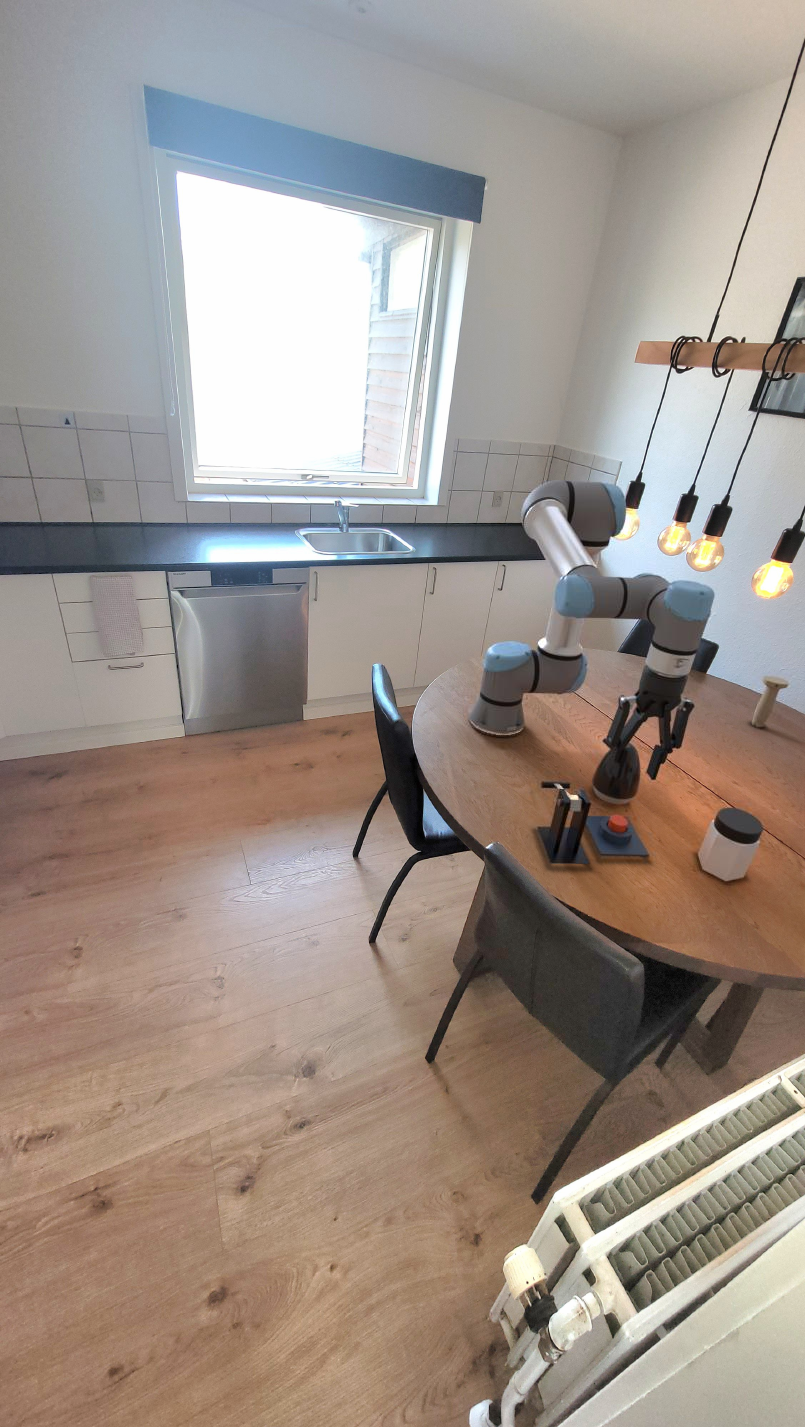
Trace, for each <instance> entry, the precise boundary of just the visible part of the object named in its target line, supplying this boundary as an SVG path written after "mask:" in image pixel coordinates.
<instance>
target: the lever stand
mask: <svg viewBox="0 0 805 1427" xmlns="http://www.w3.org/2000/svg"><path fill="white" fill-rule="evenodd" d="M565 790H566V789H560V790H559V793H558V794H557V798H556V802H555V806H554V811H553V814H552V818H551V823H550V826H538V825H537V826H536V829H537V832H538V834H539V836H540V839H541V842H542V844H543V848H544V850H545V853H546V855H547V858H548V860H549V863H550V864H563V865H565V864H566V865H567V864H568V865H569V864H570V865H575V864H576V865H590V864H591V863H590V860H589V858H588V856H587V854H586V852H585V850H584V848H583V847H584V846H583V845H582V843H581V842H582V837H583V834H584V830H585V827H586V820H587V817H588V816H589V813H590V810H591V806H592V801H591V800H590V798H589V796H588V794H587V792H586V790H585V789H583V788H580V789H579V790H578V793H577V796H578V797H579V798H580V799H581V800H582V804H581V811H572V816H571V820H570V822H569V823H570V825H569V826H566V823H567V820H568V816H569V812H570V811H569V808H570V804H571V802H570V799H569V797H568V795H567V793H566V791H567V790H566V791H565Z"/></svg>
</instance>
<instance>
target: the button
mask: <svg viewBox="0 0 805 1427" xmlns="http://www.w3.org/2000/svg"><path fill="white" fill-rule="evenodd" d="M610 816H611V817H610V820H609V823H608V828H609V829H611V830H612V831H614V832H617V833H624V832H625V831H626V828H627V825H628V821H627V819H626V818H624V817H625V816H623V815H621V814H612V815H610Z"/></svg>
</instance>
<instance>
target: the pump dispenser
mask: <svg viewBox="0 0 805 1427" xmlns="http://www.w3.org/2000/svg"><path fill="white" fill-rule="evenodd" d="M606 738H607V737H603V739H602V743H603V744H604V745H605V746H607V747H608V748H609V749H608V750H607V751H606V752H605V753H604V755H603V756H602V758H601V759H600V761H599V763H598V764H597V766H596V769H595V770H594V772H593V775H592V779H591V783H592V788H593V792H594V794H595V796H596V797H597V798H599V799H600V800H601V801H603V802H605V803H608V804H612V805H616V806H617V805H619V806H621V805H622V806H623V805H626V804H628V803H630V802H631V801H632V800H633V799H634V797H636V796H637V794H638V792H639V788H640V783H641V761H640V755H639V752H638V750H637V748H636V746H635V745H634V744H632V743H631V742H629V743H628V745H627V746H626V748H627V750H628V754H627V757H626V760H625V764H624V767H623V770H622V774H621V777H620V779H616V778H615V776H614V775H613V773H612V771H611V770H612V767H613V763H614V761H613V759H612V753H613V749H614V747H612V746H611V745H610V743H609V742H608V740H607V739H606Z"/></svg>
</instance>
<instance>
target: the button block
mask: <svg viewBox="0 0 805 1427" xmlns="http://www.w3.org/2000/svg"><path fill="white" fill-rule="evenodd" d="M611 816H612V815H609V816H607V815H588V817H587V820H586V824H585V827H586V829H587V830H588V832H589V834H590V837H591V839H592V841H593V843H594V845H595V847H596V849H597V851H598V853H599V856H604V857H606V856H607V857H610V856H611V857H650V854H649V852H648V850H647V848H646V847H645V845H644V843H643V841H642V840H641V838H640V837H639V835H638V833H637V832H636V830H635V828H634V827H633V825H632V823H631V822H630V820H629V818H628V817H627V816H623V817H624V818H626V819H627V821H628V825H627V828H626V831H625V832H624V833H617V832H614V831H612V830H611V829H609V828H608V823H609V820H610V817H611Z"/></svg>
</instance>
